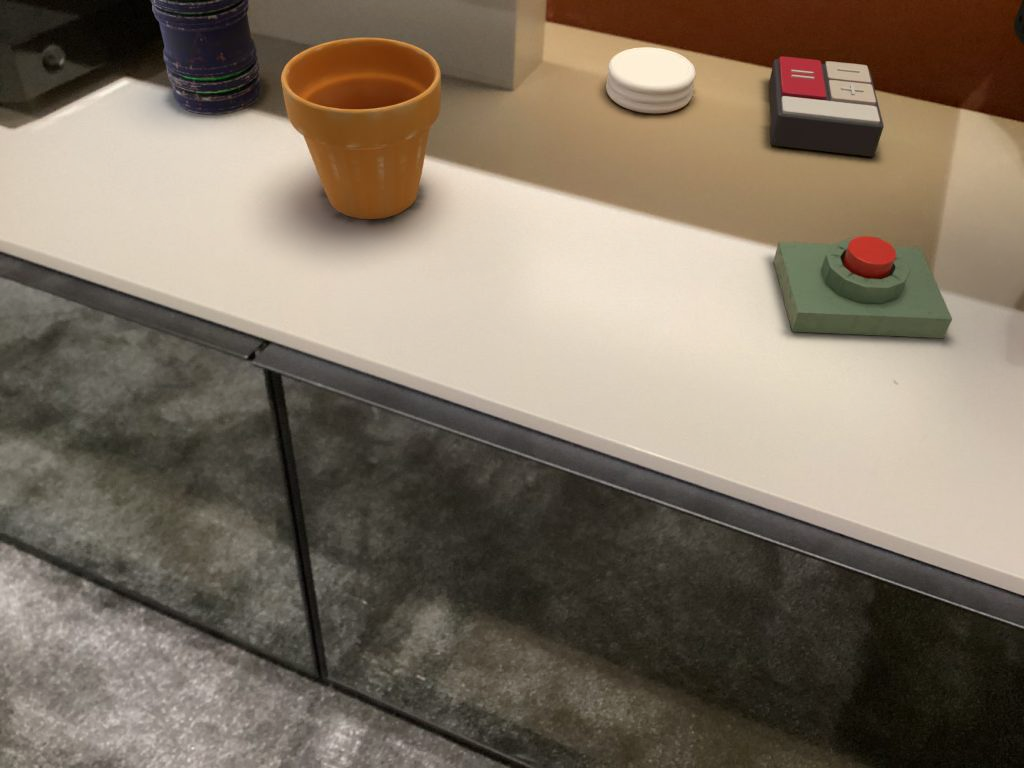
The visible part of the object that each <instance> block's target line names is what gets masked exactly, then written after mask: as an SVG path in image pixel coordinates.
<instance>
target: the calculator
mask: <svg viewBox="0 0 1024 768" xmlns="http://www.w3.org/2000/svg"><path fill="white" fill-rule="evenodd" d="M768 88H769V105H770V129H769V131H770V132H769V133H770V143H771V145H773V146H778V147H783V148H794V149H802V150H811V151H817V152H818V151H820V152H828V153H836V154H845V155H853V156H854V155H855V156H863V157H874V156H875V155H876V152H877V149H878V145H879V143H880V140H881V136H882V133H883V130H884V127H885V125H884V122H883V117H882V112H881V109H880V105H879V102H878V97H877V94H876V89H875V85H874V80H873V77H872V73H871V70H870V68H869V67H868V65H866V64H859V63H849V62H839V61H830V60H826V61H825V63H822V61H821V60H819V59H811V58H804V57H803V58H801V57H792V56H782V55H781V56H779V57H778V58H775V59H774V60H773V63H772V67H771V71H770V76H769V80H768Z"/></svg>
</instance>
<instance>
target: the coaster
mask: <svg viewBox="0 0 1024 768" xmlns="http://www.w3.org/2000/svg"><path fill="white" fill-rule="evenodd" d="M696 76H697V73H696V68H695V66H694V65H693V63H692V62H691V61H690V60H689V59H688V58H687V57H685V56H683V55H682V54H679V53H678V52H675V51H672V50H669V49H665V48H660V47H647V46H645V47H644V46H643V47H634V48H628V49H625V50H622V51H620V52H618V53H617V54H615V55H614V56H613V57H612V58H610V60H609V62H608V66H607V75H606V80H607V81H606V84H605V88H606V92H607V95H608V97H609V98H610V99H611V100H612V101H613V102H614V103H616V104H617V105H619V106H620V107H622V108H625V109H627V110H630V111H633V112H636V113H641V114H642V113H643V114H654V115H655V114H667V113H672V112H674V111H677V110H680V109H682V108H684V107H686V105H688V104H689V102H690V101H691V99H692V97H693V93H694V92H693V90H694V88H695V79H696Z"/></svg>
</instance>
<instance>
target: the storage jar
mask: <svg viewBox="0 0 1024 768" xmlns="http://www.w3.org/2000/svg"><path fill="white" fill-rule="evenodd" d="M150 2H151V5H152V6H151V9H152V12H153V14H154V17H155V19H156V20H157V22H158V23H159V28H160V33H161V37H162V41H163V45H164V48H163V50H162V51H163V52H162V53H163V62H164V63H165V65H166V66H165V68H166V72H167V77H168V80H169V82H170V85H171V87H172V89H173V97H174V102H175V103H176V104H177V105H178V106H179V107H180V108H181V109H184V110H185V111H187V112H190V113H191V112H192V113H195V114H201V115H222V114H229V113H233V112H237V111H241V110H243V109H245V108H248V107H250V106H251V105H253V104H254V103H256V102H257V101H258V100H259V99H260V97H261V95H262V92H263V87H262V83H261V80H260V76H261V75H260V62H259V57H258V55H257V53H258V49H257V46H256V43H255V40H254V39H253V38H252V36H251V35H252V34H251V29H250V23H249V22H250V21H249V17H248V11H249V0H150Z"/></svg>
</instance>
